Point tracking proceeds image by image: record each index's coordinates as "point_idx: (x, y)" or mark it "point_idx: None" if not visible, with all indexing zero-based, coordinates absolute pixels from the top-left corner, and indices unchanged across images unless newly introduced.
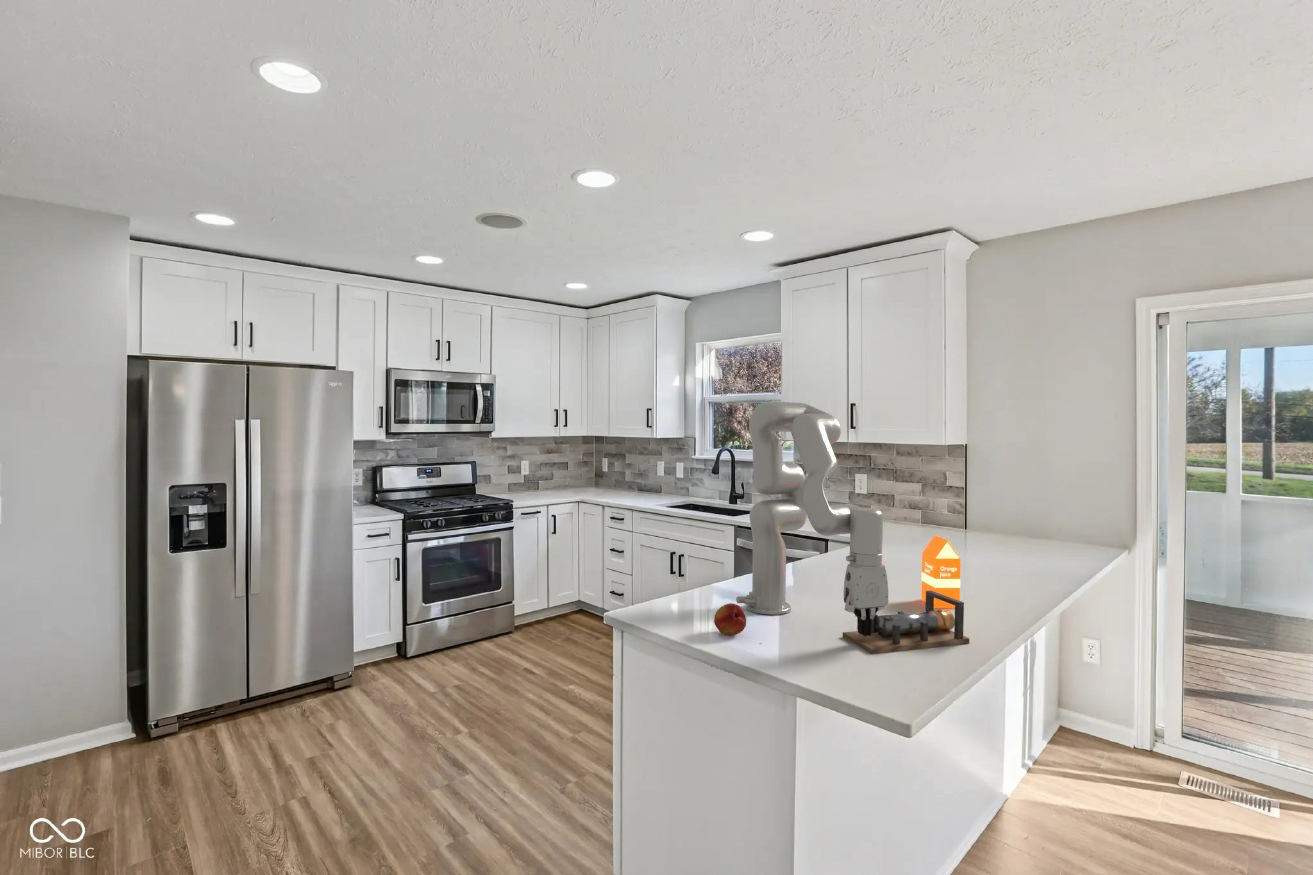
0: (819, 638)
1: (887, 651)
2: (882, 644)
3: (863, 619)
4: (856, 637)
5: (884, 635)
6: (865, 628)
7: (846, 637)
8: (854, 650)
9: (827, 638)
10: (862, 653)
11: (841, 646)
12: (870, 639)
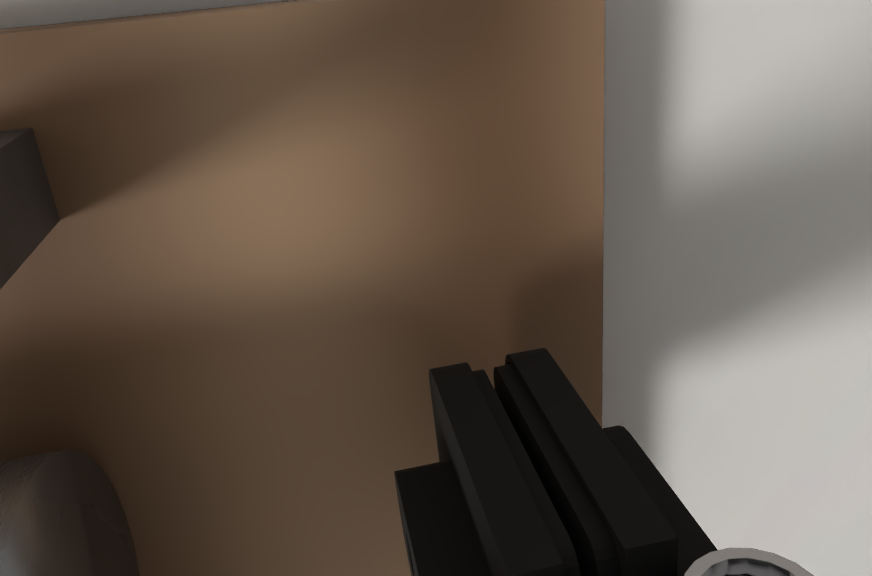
0: (838, 557)
1: (269, 3)
2: (297, 152)
3: (737, 558)
4: None
5: (93, 472)
6: (589, 424)
7: None
8: (720, 157)
9: None
10: (689, 21)
11: (781, 314)
12: (376, 392)
